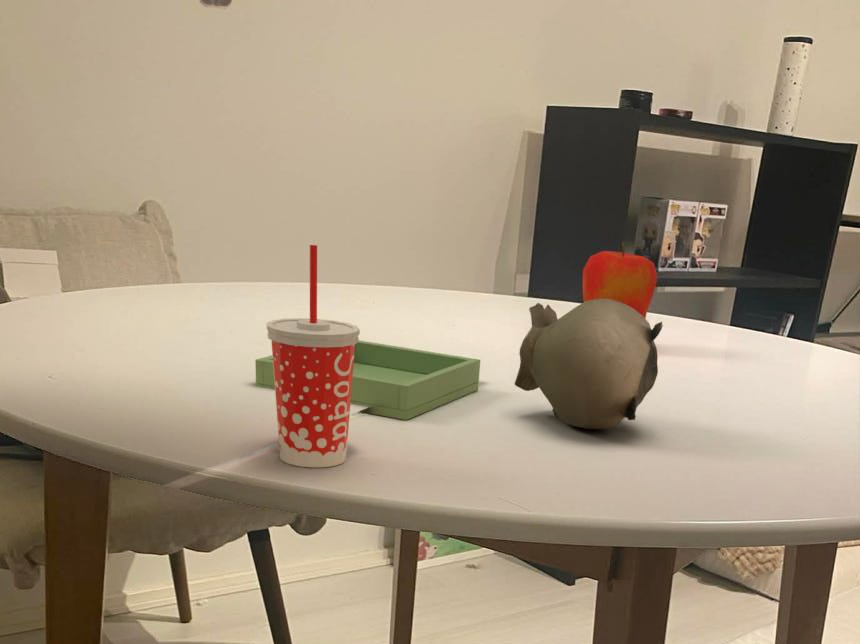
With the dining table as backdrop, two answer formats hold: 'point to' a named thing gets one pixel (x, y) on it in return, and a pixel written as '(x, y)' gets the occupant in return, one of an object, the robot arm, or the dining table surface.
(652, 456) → the dining table surface
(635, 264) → the apple
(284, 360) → the beverage cup
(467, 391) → the drinks tray
